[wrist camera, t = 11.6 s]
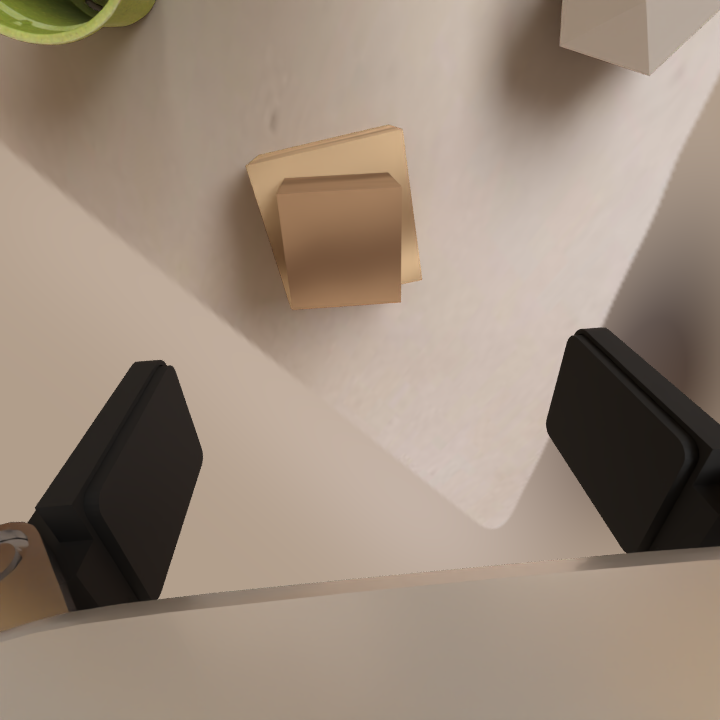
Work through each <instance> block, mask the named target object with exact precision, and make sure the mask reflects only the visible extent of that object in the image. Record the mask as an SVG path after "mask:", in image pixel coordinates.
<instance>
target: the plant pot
mask: <svg viewBox="0 0 720 720" xmlns="http://www.w3.org/2000/svg"><path fill="white" fill-rule="evenodd" d="M91 1H93V2H95V3H96V4H98V5H101V6H103V7H104V8H103V9H102V10H101V11H100V12H99V11H96V10H94V9H92V8H91V7H89V6H88V4H87V3H86V1H85V0H0V34H2V35H4V36H7V37H10V38H12V39H15V40H19V41H23V42H27V43H33V44H42V45H60V44H67V43H72V42H75V41H79V40H81V39H84V38H86V37H88V36H90V35H92V34H93V33H95V32H96V31H98V30H99V29H100V28H102V27H122V26H127V25H130V24H133V23H135V22H137V21H138V20H140V19H141V18H143V17H144V16H145V15H146V14H147V13H148V12H149V11H150V10H151V8H152V7H153V5H154V3H155V1H156V0H91Z"/></svg>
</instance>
